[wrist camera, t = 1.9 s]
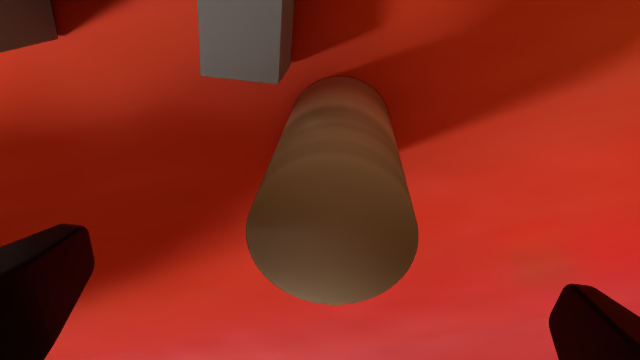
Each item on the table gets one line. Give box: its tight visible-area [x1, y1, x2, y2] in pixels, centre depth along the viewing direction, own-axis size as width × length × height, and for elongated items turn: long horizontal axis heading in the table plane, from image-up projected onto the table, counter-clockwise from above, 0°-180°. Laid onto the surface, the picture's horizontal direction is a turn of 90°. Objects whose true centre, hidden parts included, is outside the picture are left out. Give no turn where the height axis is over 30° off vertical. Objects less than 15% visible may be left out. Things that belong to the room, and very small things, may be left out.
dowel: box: [246, 76, 418, 305], centre depth 11 cm, size 4×4×7 cm
